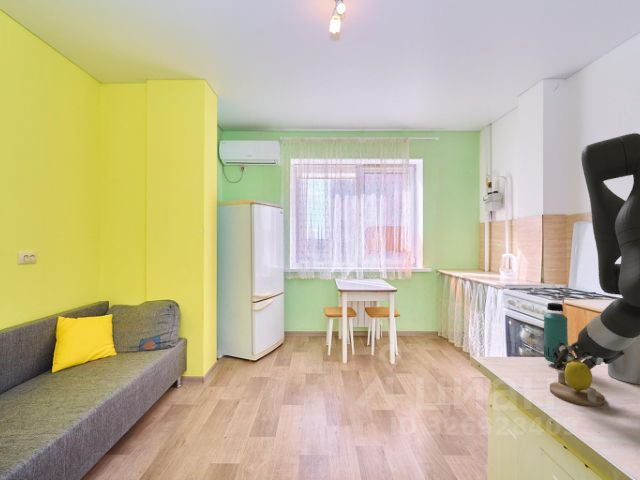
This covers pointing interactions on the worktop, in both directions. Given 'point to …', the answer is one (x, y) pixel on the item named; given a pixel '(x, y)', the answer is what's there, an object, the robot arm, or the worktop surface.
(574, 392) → the pin dish
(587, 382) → the lemon
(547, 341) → the beverage bottle
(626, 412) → the worktop surface
